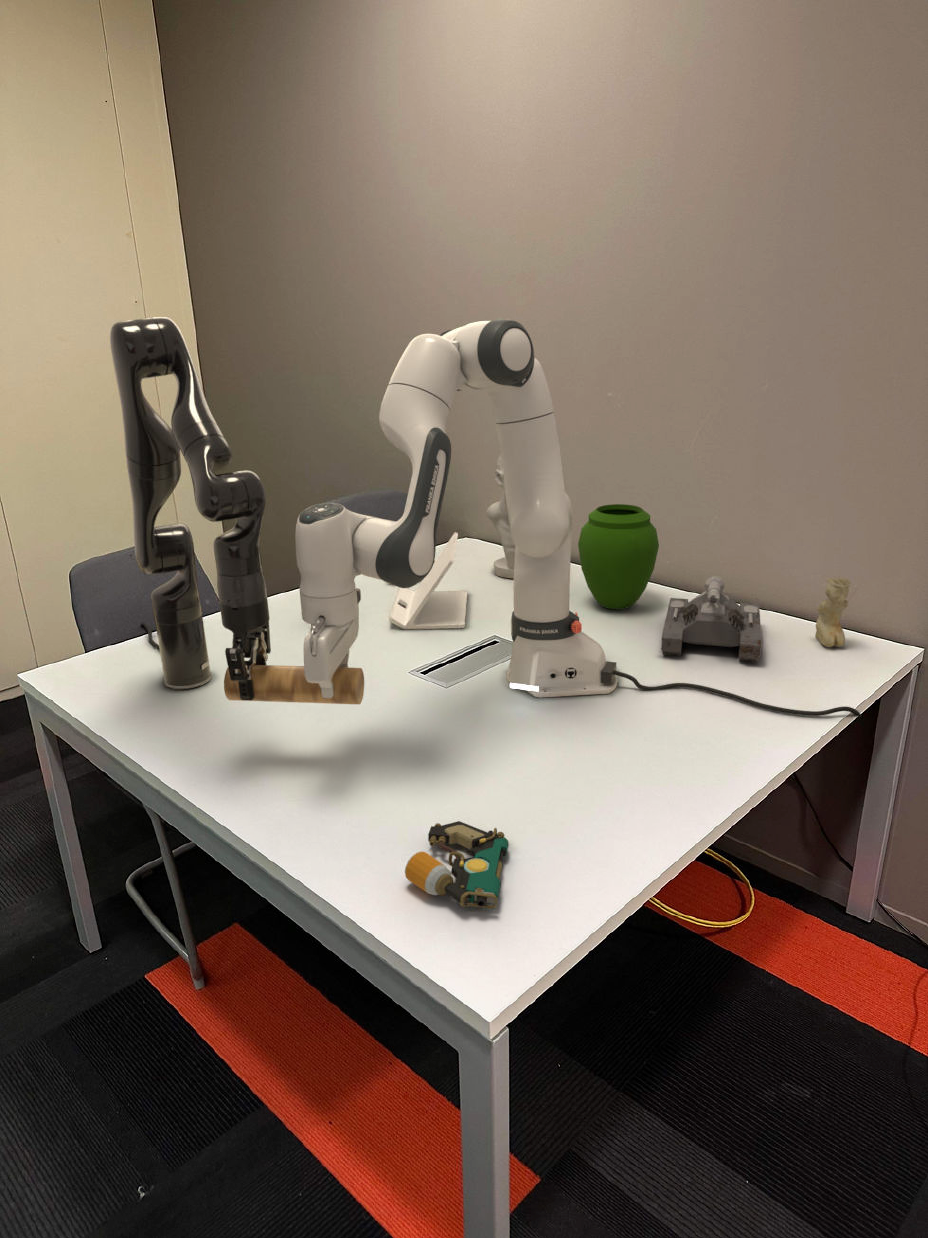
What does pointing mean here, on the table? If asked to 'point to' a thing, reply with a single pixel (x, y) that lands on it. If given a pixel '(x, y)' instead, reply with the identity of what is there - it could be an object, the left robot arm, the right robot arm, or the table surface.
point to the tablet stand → (432, 599)
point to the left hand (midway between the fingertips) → (254, 690)
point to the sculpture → (832, 613)
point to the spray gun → (461, 865)
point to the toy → (713, 622)
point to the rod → (298, 685)
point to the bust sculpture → (502, 528)
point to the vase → (618, 554)
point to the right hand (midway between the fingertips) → (335, 684)
